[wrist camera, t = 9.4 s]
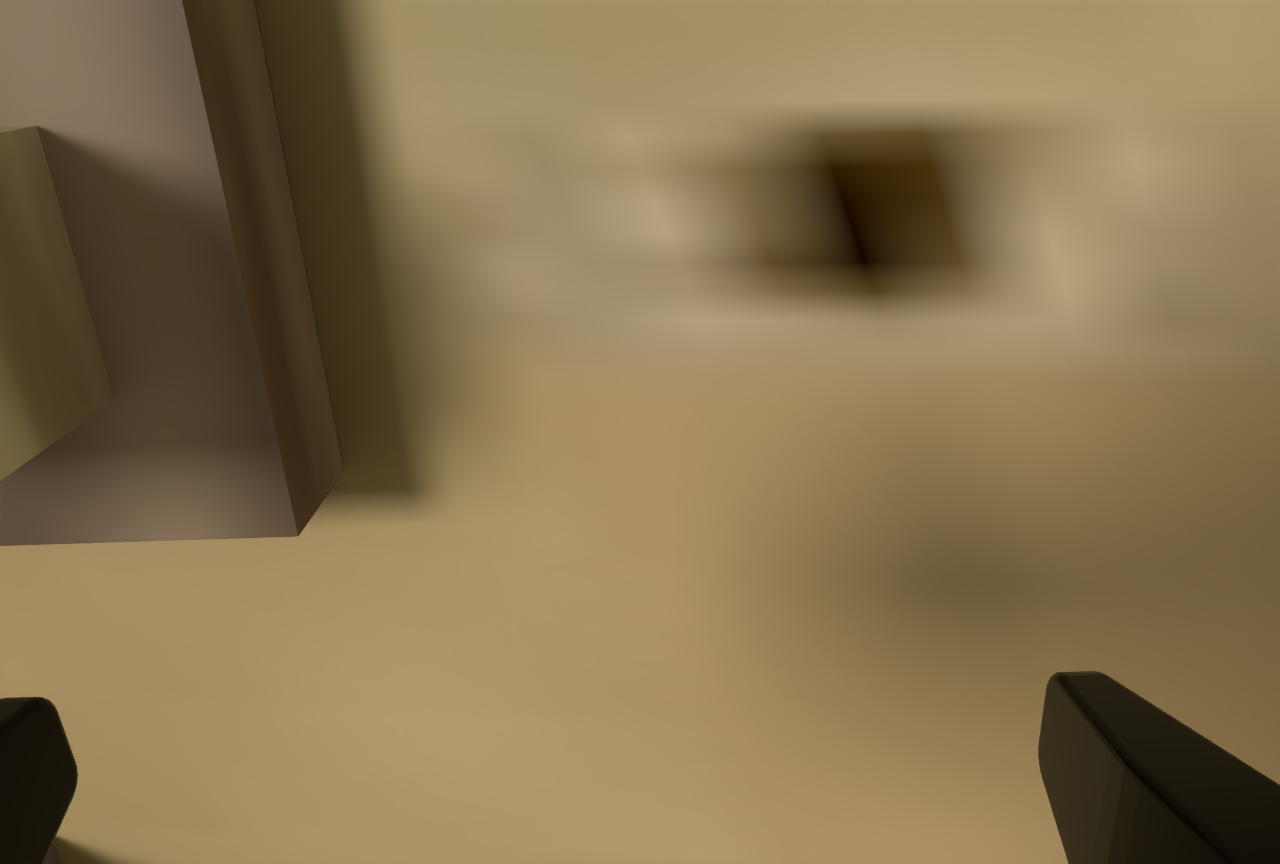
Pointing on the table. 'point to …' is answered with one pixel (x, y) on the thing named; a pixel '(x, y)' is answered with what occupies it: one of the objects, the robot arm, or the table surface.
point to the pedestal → (171, 277)
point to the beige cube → (40, 312)
